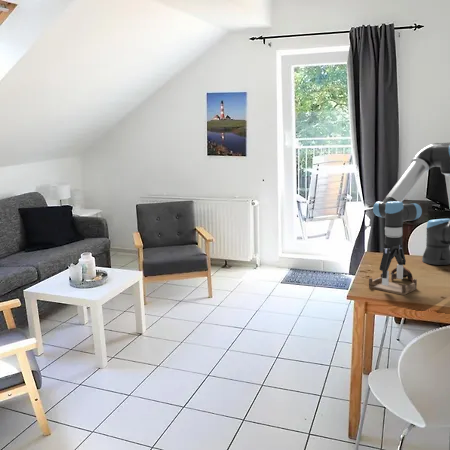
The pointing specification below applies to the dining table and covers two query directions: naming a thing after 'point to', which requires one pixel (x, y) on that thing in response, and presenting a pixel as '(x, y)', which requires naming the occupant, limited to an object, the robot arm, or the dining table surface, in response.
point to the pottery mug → (405, 274)
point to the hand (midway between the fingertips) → (392, 281)
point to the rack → (392, 286)
